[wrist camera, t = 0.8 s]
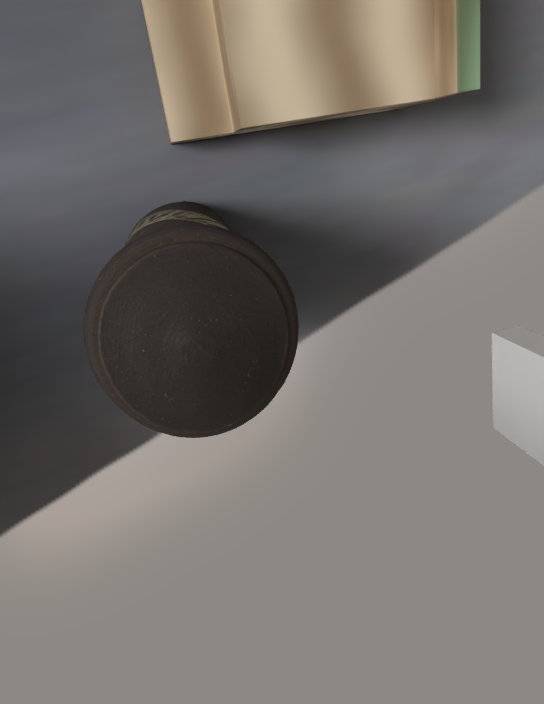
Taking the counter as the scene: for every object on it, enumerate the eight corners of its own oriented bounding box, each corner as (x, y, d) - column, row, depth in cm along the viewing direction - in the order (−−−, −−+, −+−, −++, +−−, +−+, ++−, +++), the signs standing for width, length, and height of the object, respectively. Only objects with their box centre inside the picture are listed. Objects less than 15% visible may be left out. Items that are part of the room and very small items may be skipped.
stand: (170, 144, 35) (173, 135, 26) (127, -68, 31) (111, -166, 22) (403, 108, 37) (480, 88, 28) (393, -94, 33) (480, -193, 24)
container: (251, 216, 38) (335, 261, 19) (223, 329, 40) (272, 464, 22) (133, 183, 36) (100, 199, 17) (110, 305, 38) (60, 434, 20)
